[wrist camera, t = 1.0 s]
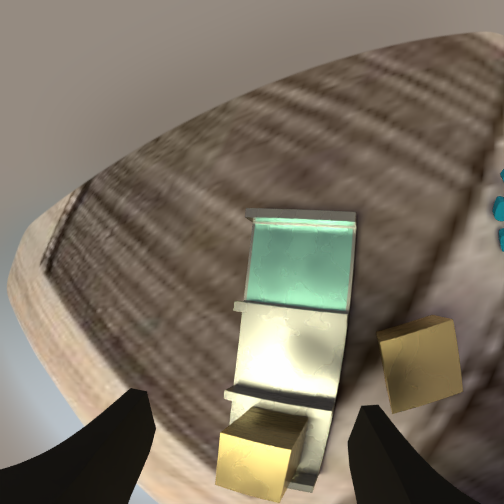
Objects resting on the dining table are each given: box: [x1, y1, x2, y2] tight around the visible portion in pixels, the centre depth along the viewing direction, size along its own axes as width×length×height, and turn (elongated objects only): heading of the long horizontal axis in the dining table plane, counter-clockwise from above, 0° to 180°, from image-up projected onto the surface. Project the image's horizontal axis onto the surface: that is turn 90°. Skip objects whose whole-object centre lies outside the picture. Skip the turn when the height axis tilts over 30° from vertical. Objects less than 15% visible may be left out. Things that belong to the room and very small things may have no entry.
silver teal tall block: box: [224, 208, 357, 493], centre depth 19 cm, size 19×7×2 cm, turn 173°
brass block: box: [215, 407, 309, 503], centre depth 16 cm, size 4×4×5 cm
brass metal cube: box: [376, 315, 463, 414], centre depth 15 cm, size 4×4×5 cm
